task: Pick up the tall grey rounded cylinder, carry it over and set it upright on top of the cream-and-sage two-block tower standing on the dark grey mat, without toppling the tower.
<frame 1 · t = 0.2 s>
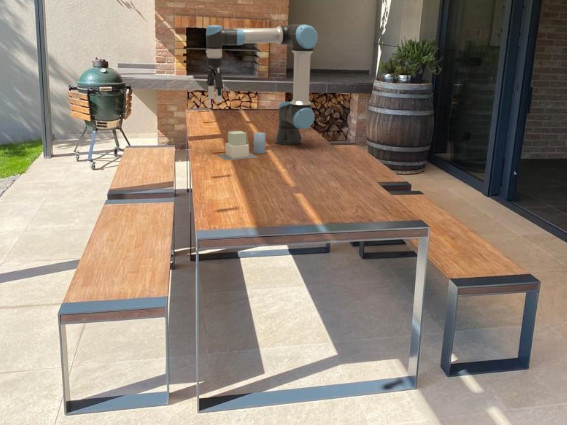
hand: (215, 100, 326), 27 cm above the table, fingers open, 13 cm apart
coral: (241, 149, 346), on the table
mat: (237, 157, 326), on the table
tower top: (237, 144, 324), point 7 cm above the table, touching tower base
grey rounded cylinder: (259, 154, 335), on the table
tower base: (237, 156, 326), point 1 cm above the table, touching mat, tower top
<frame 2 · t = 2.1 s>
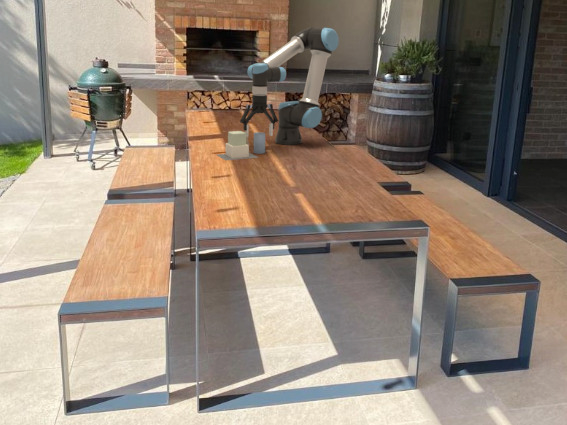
hand: (258, 136, 332), 9 cm above the table, fingers open, 13 cm apart
nothing on the table moved.
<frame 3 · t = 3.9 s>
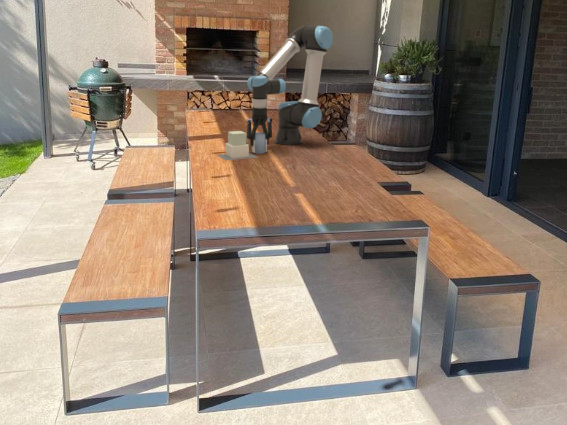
hand: (259, 151, 335), 1 cm above the table, fingers closed on grey rounded cylinder, 6 cm apart
grey rounded cylinder: (259, 154, 335), on the table, touching gripper
everything else where it was.
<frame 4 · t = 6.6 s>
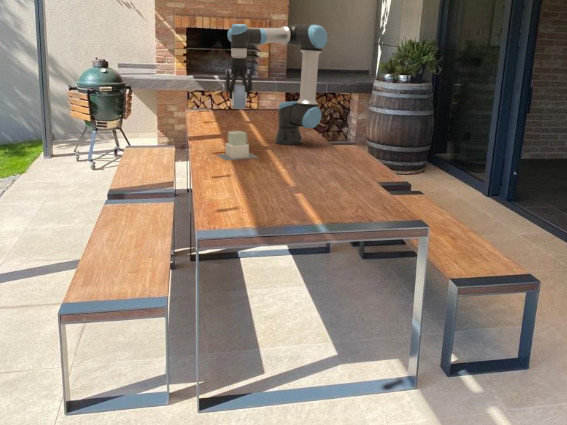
hand: (238, 105, 319), 27 cm above the table, fingers closed on grey rounded cylinder, 6 cm apart
grey rounded cylinder: (238, 108, 319), point 25 cm above the table, touching gripper
everything else where it was.
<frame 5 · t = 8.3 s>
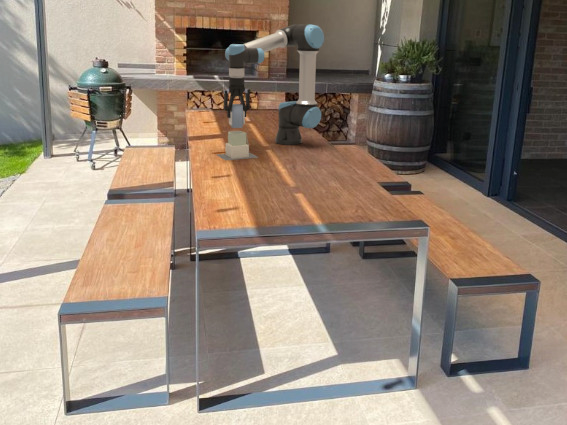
hand: (236, 124, 321), 17 cm above the table, fingers closed on grey rounded cylinder, 6 cm apart
grey rounded cylinder: (236, 126, 321), point 16 cm above the table, touching gripper
everything else where it was.
when the fingers open (16 cm above the table, at t = 9.3 s): grey rounded cylinder stays where it is, resting on tower top.
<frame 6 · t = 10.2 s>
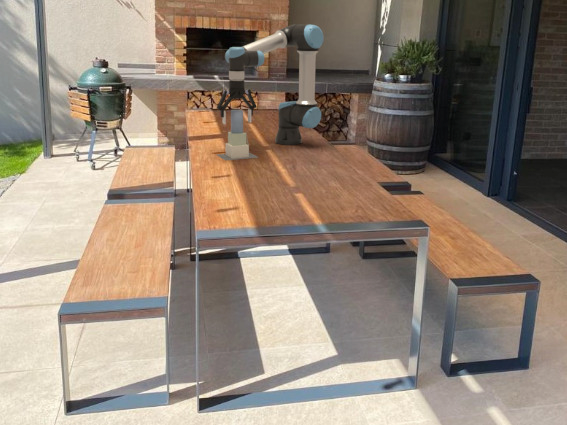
hand: (236, 123, 320), 18 cm above the table, fingers open, 13 cm apart
tower top: (237, 144, 324), point 7 cm above the table, touching grey rounded cylinder, tower base
grey rounded cylinder: (237, 132, 322), point 13 cm above the table, touching tower top
everything else where it was.
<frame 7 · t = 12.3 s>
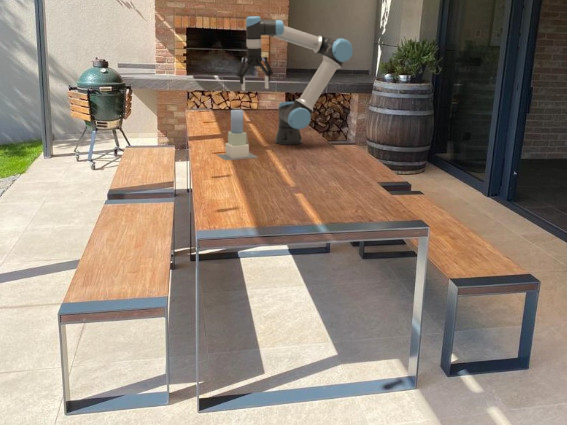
hand: (255, 89, 338), 32 cm above the table, fingers open, 13 cm apart
nothing on the table moved.
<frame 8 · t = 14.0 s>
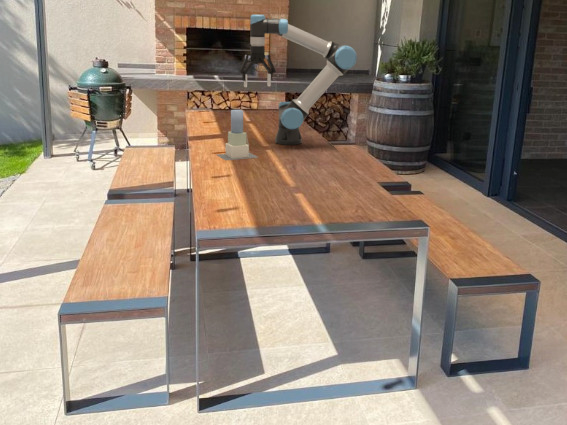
hand: (257, 86, 342), 33 cm above the table, fingers open, 13 cm apart
nothing on the table moved.
at the end: grey rounded cylinder 0.0 cm off-centre on the tower top, point 6.0 cm above the tower top's base; grey rounded cylinder tilted 0°; tower top moved 0.0 cm from its start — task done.
